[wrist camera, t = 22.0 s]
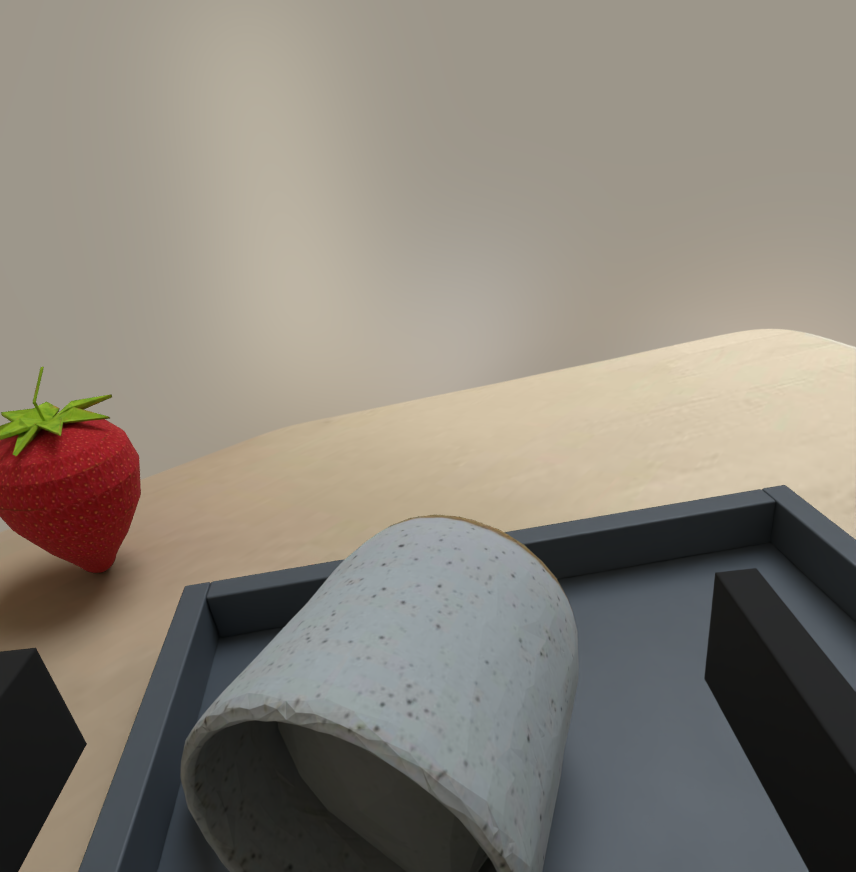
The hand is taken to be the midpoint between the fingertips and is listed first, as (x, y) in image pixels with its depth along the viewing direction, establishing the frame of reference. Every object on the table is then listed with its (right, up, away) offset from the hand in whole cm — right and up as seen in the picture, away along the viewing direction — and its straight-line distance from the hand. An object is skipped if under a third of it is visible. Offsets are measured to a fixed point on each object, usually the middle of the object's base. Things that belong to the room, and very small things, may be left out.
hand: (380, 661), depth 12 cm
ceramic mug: (0, -6, +5) cm, 8 cm away
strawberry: (-15, -2, +18) cm, 23 cm away
